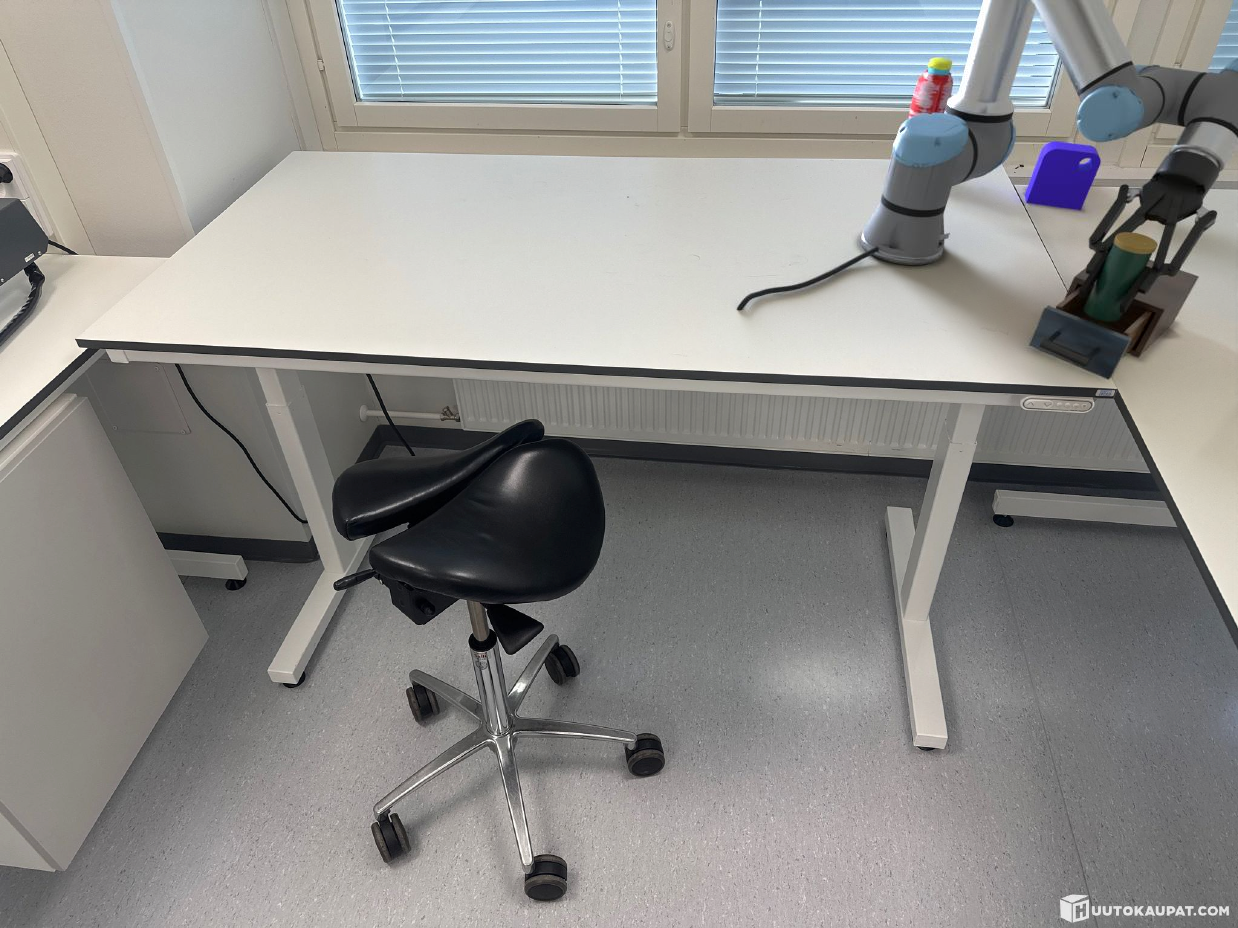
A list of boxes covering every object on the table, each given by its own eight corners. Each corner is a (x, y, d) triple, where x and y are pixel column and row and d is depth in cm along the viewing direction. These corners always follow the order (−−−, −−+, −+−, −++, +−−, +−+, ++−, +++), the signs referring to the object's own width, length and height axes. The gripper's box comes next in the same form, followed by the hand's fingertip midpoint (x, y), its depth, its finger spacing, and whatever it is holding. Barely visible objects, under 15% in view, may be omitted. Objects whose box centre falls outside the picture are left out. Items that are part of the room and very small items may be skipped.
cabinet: (1138, 358, 127) (1164, 310, 122) (1053, 323, 135) (1074, 276, 129) (1172, 323, 136) (1199, 276, 130) (1091, 292, 143) (1112, 246, 137)
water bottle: (885, 165, 186) (914, 48, 169) (920, 167, 185) (952, 49, 169) (894, 186, 177) (926, 64, 160) (931, 188, 176) (966, 66, 160)
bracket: (1080, 210, 169) (1104, 154, 162) (1026, 203, 172) (1047, 147, 164) (1070, 179, 182) (1092, 125, 175) (1020, 172, 185) (1039, 119, 177)
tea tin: (1097, 324, 121) (1133, 250, 113) (1075, 305, 125) (1107, 233, 117) (1129, 320, 122) (1166, 247, 114) (1105, 302, 126) (1140, 230, 118)
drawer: (1093, 394, 118) (1114, 355, 113) (1012, 359, 125) (1028, 320, 120) (1144, 344, 129) (1164, 306, 124) (1066, 313, 135) (1083, 277, 131)
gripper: (1258, 196, 116) (1164, 334, 118) (1127, 160, 125) (1043, 288, 127) (1268, 168, 109) (1168, 315, 111) (1130, 133, 119) (1040, 269, 121)
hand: (1101, 301), depth 119 cm, fingers closed on tea tin, 5 cm apart
